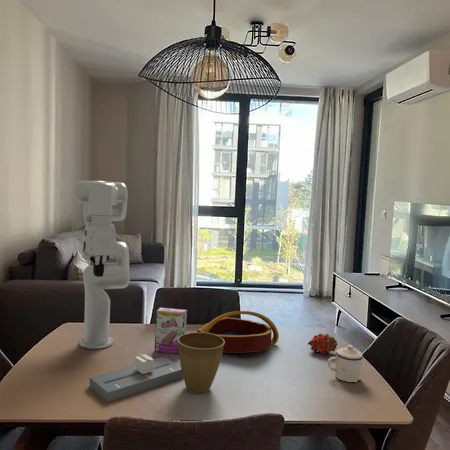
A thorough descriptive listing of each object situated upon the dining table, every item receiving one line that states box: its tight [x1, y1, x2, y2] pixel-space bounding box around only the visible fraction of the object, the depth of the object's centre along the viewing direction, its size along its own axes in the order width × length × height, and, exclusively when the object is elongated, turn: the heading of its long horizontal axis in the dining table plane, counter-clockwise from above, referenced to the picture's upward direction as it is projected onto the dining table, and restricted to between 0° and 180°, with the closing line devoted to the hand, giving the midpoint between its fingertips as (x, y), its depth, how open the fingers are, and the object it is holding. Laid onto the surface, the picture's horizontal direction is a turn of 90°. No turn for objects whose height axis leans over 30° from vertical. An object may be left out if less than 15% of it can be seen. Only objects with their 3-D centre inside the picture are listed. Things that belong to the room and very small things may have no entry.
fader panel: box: [88, 356, 184, 403], centre depth 139 cm, size 12×28×3 cm, turn 133°
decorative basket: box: [196, 310, 279, 354], centre depth 175 cm, size 34×29×15 cm
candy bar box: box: [154, 307, 188, 355], centre depth 165 cm, size 11×5×16 cm, turn 84°
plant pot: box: [178, 331, 225, 394], centre depth 136 cm, size 15×15×16 cm
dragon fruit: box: [307, 333, 338, 355], centre depth 173 cm, size 8×8×12 cm
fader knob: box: [134, 353, 155, 374], centre depth 140 cm, size 5×4×4 cm
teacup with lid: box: [327, 344, 364, 382], centre depth 150 cm, size 12×9×12 cm
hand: (98, 275), depth 141 cm, fingers closed
